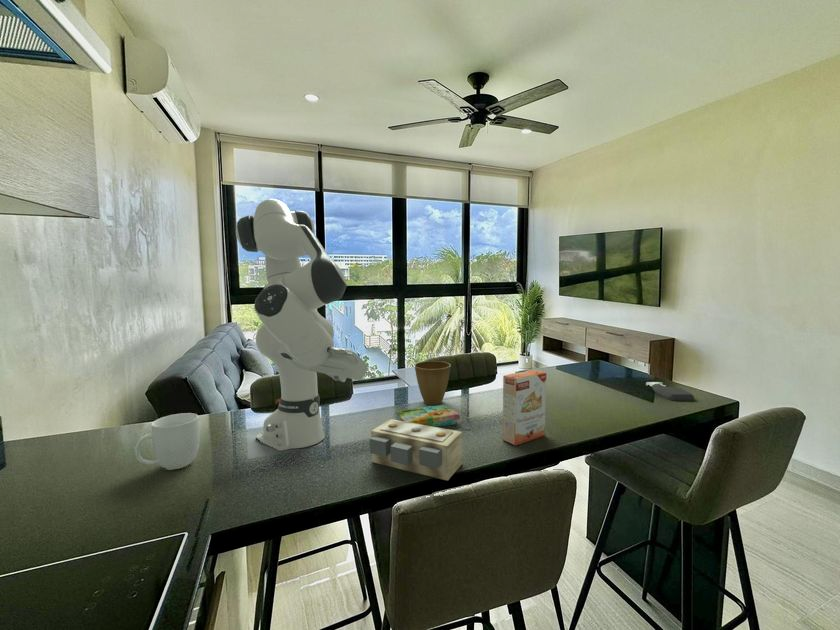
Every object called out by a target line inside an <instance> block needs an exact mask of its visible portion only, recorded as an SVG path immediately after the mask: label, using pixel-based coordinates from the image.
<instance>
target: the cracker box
mask: <svg viewBox="0 0 840 630" xmlns="http://www.w3.org/2000/svg"><path fill="white" fill-rule="evenodd" d="M502 386H503V387H502V388H503V389H502V439H501V440H502V441H505V442H507V443H509V444H511V445H513V446H515V447H517V446H519V445H522V444H525V443H527V442H530V441H533V440H535V439H536V440H537V439H539V438H542V437H544V436H545V434H546V404H547V403H546V400H547V373H546V372H544V371H540V370H535V369H531V370H525V371H519V372H514V373H509V374H504V375H503V377H502Z"/></svg>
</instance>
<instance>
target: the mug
mask: <svg viewBox="0 0 840 630" xmlns="http://www.w3.org/2000/svg"><path fill="white" fill-rule="evenodd" d="M199 420H200V419H199V415H198V414H197V413H192V412H187V413H185V412H184V413H183V412H181V413H176V414H169V415H166V416H162V417H160V418H157V419H155V420H154V421H152V423H151V425H150V426H151V432H150V433H146V434H144V435H142V436H141V437H140V438H139V439H138V441H137V442H136V443H135V444H136V445H135V448H134V455H135V457H136V459H137V461H138V462H139V463H141V464H144V465H149V466H150V465H160V466H161V467H162V468H163V467H165V468H175V467H181V466H184V465H187V464H189V463H190V462H192V461H193V460H195V458H196V456H197V454H198V451H199V447H200V433H201V432H200V423H199ZM146 439H147V440H148V439H151V440H152V445H153V451H154V452H153V453H154V454H155V458H156V459H154V460H148V459H145V458H143V456H142V455H141V453H140V447H141V444H142V443H143V442H144V441H145V440H146ZM193 462H194V461H193ZM193 462H192V463H193Z"/></svg>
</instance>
